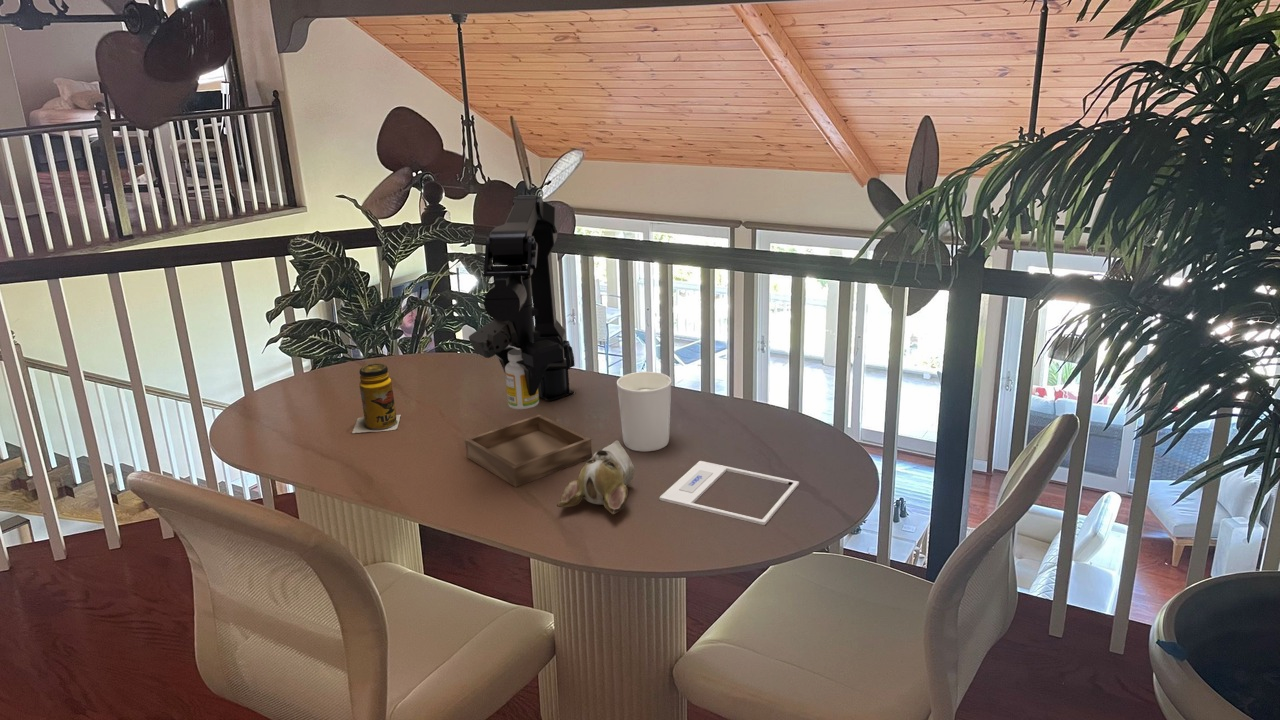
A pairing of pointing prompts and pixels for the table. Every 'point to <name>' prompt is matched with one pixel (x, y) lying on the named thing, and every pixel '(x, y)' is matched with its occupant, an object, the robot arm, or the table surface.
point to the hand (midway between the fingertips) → (522, 390)
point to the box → (528, 449)
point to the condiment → (376, 400)
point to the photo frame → (705, 477)
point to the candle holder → (645, 410)
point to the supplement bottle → (518, 384)
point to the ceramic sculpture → (602, 480)
